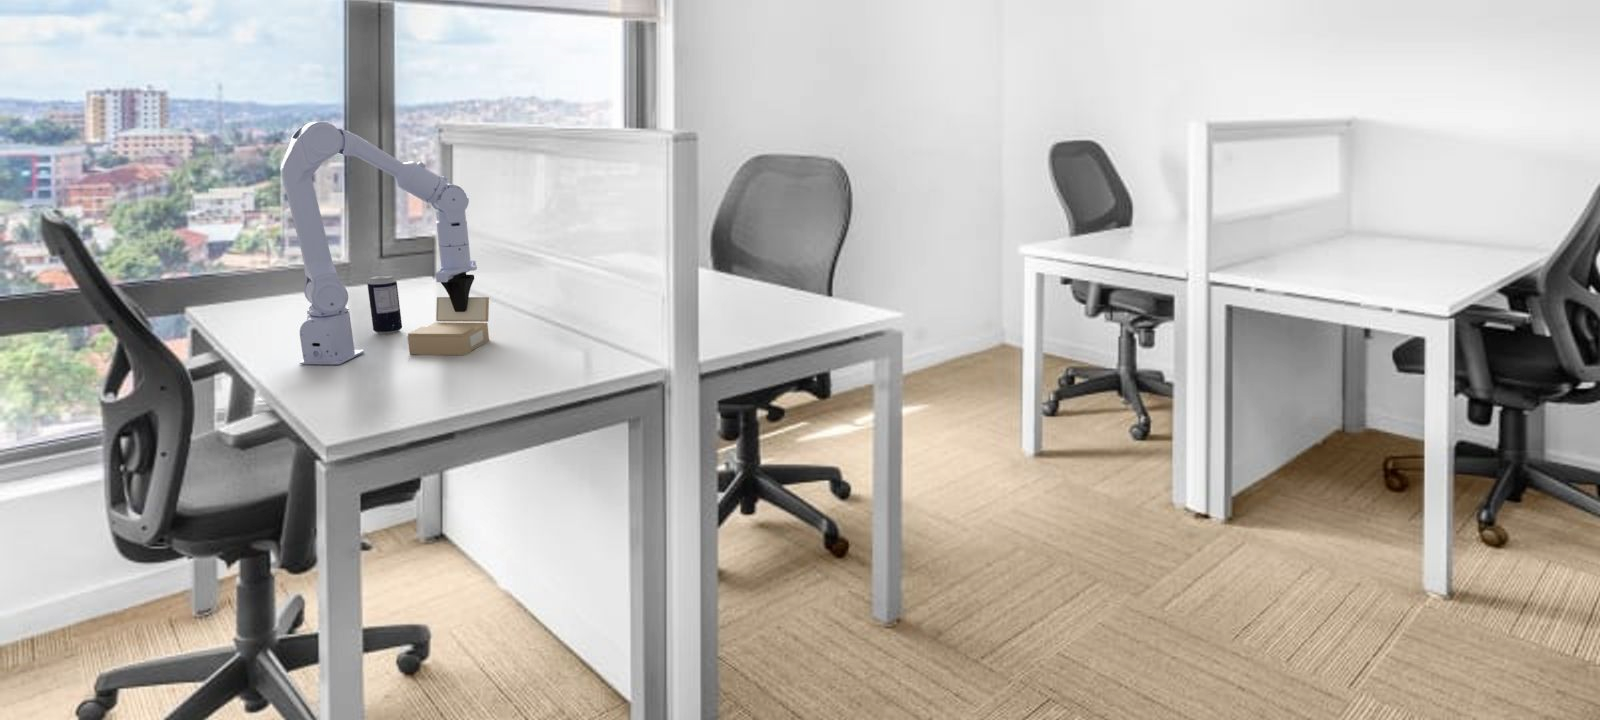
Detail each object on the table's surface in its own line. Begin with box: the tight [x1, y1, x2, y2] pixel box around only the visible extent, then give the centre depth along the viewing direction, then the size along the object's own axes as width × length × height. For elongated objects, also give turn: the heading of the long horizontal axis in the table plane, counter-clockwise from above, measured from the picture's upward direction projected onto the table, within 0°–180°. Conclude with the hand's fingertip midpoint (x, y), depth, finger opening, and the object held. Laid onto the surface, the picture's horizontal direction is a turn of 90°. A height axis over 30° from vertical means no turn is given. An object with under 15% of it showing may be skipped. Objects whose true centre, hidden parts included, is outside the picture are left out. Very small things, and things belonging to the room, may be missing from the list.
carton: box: [407, 322, 490, 356], centre depth 200 cm, size 12×11×4 cm
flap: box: [435, 296, 490, 323], centre depth 206 cm, size 5×11×1 cm
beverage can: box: [367, 274, 403, 336], centre depth 212 cm, size 6×6×12 cm
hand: (460, 311), depth 205 cm, fingers closed
